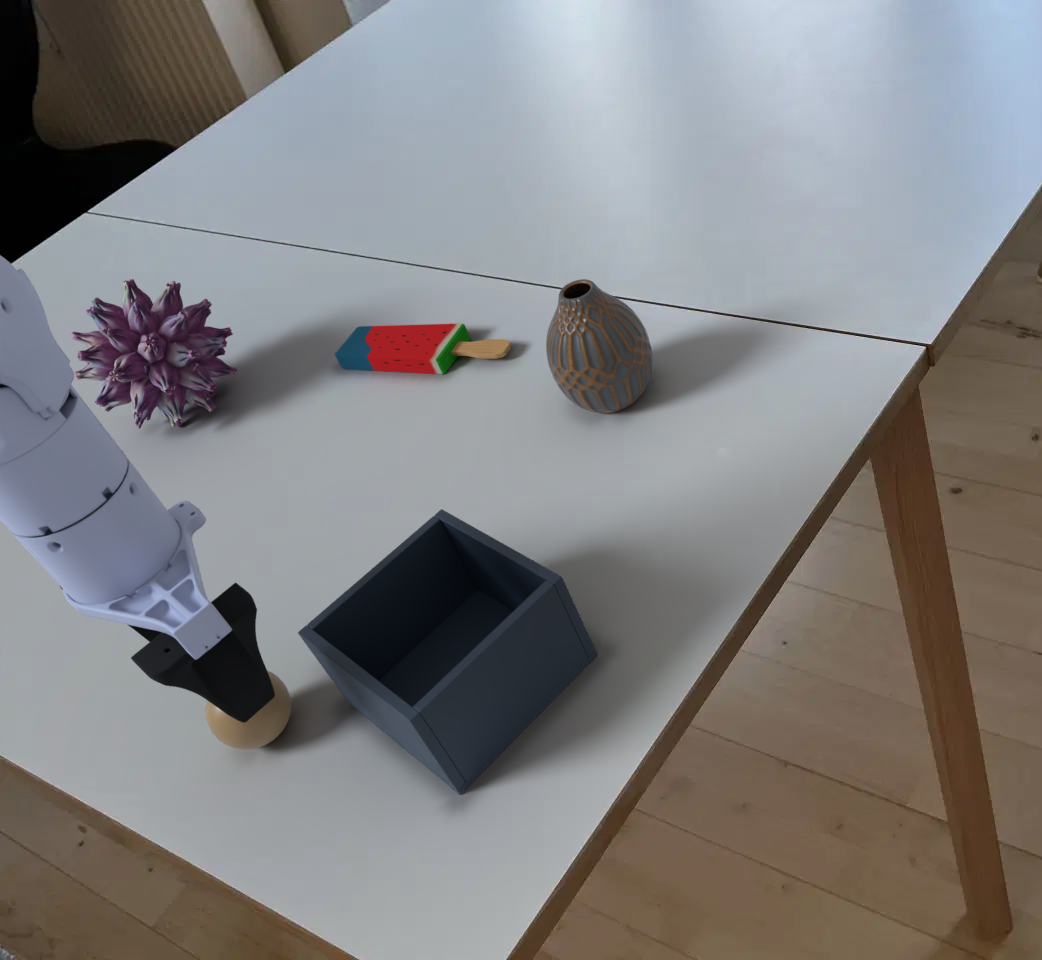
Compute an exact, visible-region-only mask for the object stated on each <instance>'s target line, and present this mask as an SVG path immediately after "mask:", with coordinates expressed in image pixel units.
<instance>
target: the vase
mask: <svg viewBox="0 0 1042 960" xmlns="http://www.w3.org/2000/svg"><path fill="white" fill-rule="evenodd" d="M545 341H546V343H545V348H546V349H545V350H546V358H547V365H548V367H549V370H550V373H551V375H552V377H553V380H554V381H555V383H556V385H557V387H558V388H559V390H560V391H561V393H562V394H563V395H564V396H565V397H566V398H567V399H568V400H569V401H570V402H572V403H573V404H574V405H575V406H577V407H579V408H581V409H583V410H586V411H589V412H592V413H597V414H612V413H617V412H620V411H622V410H625V409H626V408H628V407H630V406H632V405H633V404H634V403H635V402H637V400H638V399H639V398H640V397H641V395H642V394H643V393H644V392H645V391H646V389H647V387H648V384H649V382H650V380H651V377H652V372H653V361H654V359H653V350H652V349H653V348H652V344H651V342H650V338H649V335H648V332H647V329H646V327H645V326H644V324H643V322H642V320H641V318H640V317H639V316H638V314H636V312H635V311H634V310H633V308H631V307H630V306H629V305H628V304H627V303H625V302H624V301H623V300H621V299H620V298H617V297H615V296H613V295H611V294H610V293H607V292H606V291H604V290H602V289H601V288H600V287H599V286H598V285H597V284H596V283H595V282H594V281H592V280H590V279H585V278H584V279H583V278H582V279H575V280H572V281H570V282H568V283H566V284H565V285H564V286H563V287H562V288H561V289H560V291H559V293H558V300H557V306H556V309H555V311H554V313H553V316H552V318H551V320H550V322H549V326H548V329H547V333H546V340H545Z"/></svg>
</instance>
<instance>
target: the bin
mask: <svg viewBox="0 0 1042 960" xmlns="http://www.w3.org/2000/svg"><path fill="white" fill-rule="evenodd" d="M569 591H570V590H569V589H568V587H567V585H566V582H565V581H564V578H563V576H562V575H560V574H558V573H556V572H555V571H553V570H551V569H549V568H547V567H546V566H544V565H543V564H540V563H539V562H537V561H535V560H533V559H532V558H530V557H528V556H527V555H524V554H523V553H522V552H519V551H517V550H515V549H513V548H512V547H510V546H509V545H507V544H504V543H503V542H501V541H500V540H498V539H496V538H494V537H492V536H491V535H489V534H487V533H486V532H484V531H481V530H480V529H478V528H477V527H474V526H473V525H471V524H469V523H467V522H465V521H464V520H462V519H461V518H459V517H457V516H455V515H453V514H451V513H450V512H448V511H446V510H444V509H443V508H441V509H440V510H439V511H437V512H436V513H435V514H434V515H433V516H432V517H430V518H429V519H428V520H427V521H426V522H425V523H423V524H422V525H421V526H419V528H418V529H416V530H415V531H414V532H413V533H412V534H410V535H409V536H408V537H407V538H406V539H405V540H404V541H402V542H401V543H400V544H399V545H398V546H396V548H394V549H393V550H392V551H391V552H390V553H388V554H387V555H386V556H385V557H383V558H382V560H380V561H379V562H378V563H377V564H376V565H375V566H373V567H372V568H371V569H370V570H369V571H368V572H366V573H365V574H364V575H363V576H362V577H360V578H359V579H358V580H357V581H356V582H355V583H354V584H352V585H351V586H350V587H349V588H348V589H346V590H345V591H344V592H343V593H341V595H339V596H338V597H337V598H336V599H335V600H334V601H333V602H331V603H330V604H329V605H328V606H327V607H325V609H323V610H322V611H321V612H320V613H319V614H318V615H317V616H315V617H314V618H313V619H311V620H310V622H308V623H307V625H304V626H303V627H302V628H301V629H300V630H298V632H297V634H298V635H299V638H301V640H302V641H303V643H304V644H305V645H306V646H307V648H308V649H309V651H310V652H311V653H312V655H313V656H314V658H315V659H316V660H317V662H318V663H319V664H320V666H321V667H322V668H323V670H324V671H325V673H326V674H327V675H328V676H329V678H330V680H331V681H332V682H333V683H334V685H335V686H336V687H337V689H338V690H339V691H340V693H341V694H342V696H343V697H344V699H345V700H346V701H347V702H348V704H349V705H350V706H351V707H352V708H354V710H356V711H357V712H358V713H359V714H361V715H362V716H363V717H364V718H366V719H367V720H368V721H369V722H370V723H372V724H373V725H374V726H375V727H377V729H379V730H380V731H381V732H382V733H384V734H385V735H386V736H388V737H389V738H390V739H391V740H392V741H394V743H396V744H397V745H398V746H400V747H401V748H402V749H403V750H404V751H406V752H407V753H408V754H409V755H410V756H412V757H413V758H414V759H416V761H418V762H419V763H420V764H422V765H423V766H424V767H425V768H426V769H428V770H429V772H431V773H433V774H434V775H435V776H436V777H437V778H438V779H440V780H441V781H442V782H443V783H445V784H446V785H447V786H448V787H450V789H452V790H453V791H455V793H457V794H458V795H459V796H461V795H463V793H464V792H465V791H466V790H467V789H468V788H469V787H470V786H471V785H472V784H473V783H474V782H475V781H476V780H477V779H478V778H479V777H480V776H481V775H482V774H483V773H484V772H485V771H486V770H487V769H488V768H489V767H490V766H491V765H492V763H494V761H496V759H497V758H498V757H500V755H502V753H503V752H504V751H505V750H506V749H507V748H508V747H509V746H510V745H512V744H513V742H514V741H515V740H516V739H517V738H518V737H519V736H520V735H521V734H522V733H523V732H524V731H525V730H526V729H527V728H528V727H529V726H530V725H531V724H532V723H533V722H534V721H535V720H536V719H537V718H538V717H539V716H540V715H541V714H542V712H544V711H545V709H547V708H548V707H549V706H550V704H551V703H552V702H553V701H554V700H556V698H557V697H558V696H559V695H560V694H562V693H563V691H564V690H565V689H566V688H567V687H568V686H569V685H570V684H571V683H572V682H573V681H574V680H575V679H576V678H577V677H578V676H579V675H581V673H582V672H583V671H584V670H585V669H586V668H587V667H588V666H589V664H591V663H592V661H594V659H596V658H597V657H598V656H599V654H598V651H597V650H596V648H595V645H594V643H593V641H592V639H591V637H590V635H589V632H588V630H587V628H586V626H585V624H584V621H583V620H582V617H581V615H580V613H579V610H578V609H577V606H576V604H575V602H574V600H573V597H572V596H571V593H570V592H569Z"/></svg>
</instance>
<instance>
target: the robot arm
mask: <svg viewBox="0 0 1042 960" xmlns="http://www.w3.org/2000/svg"><path fill="white" fill-rule="evenodd" d="M70 362H71V360H70V358H69V357H68V356H67V355H66V353H65V352H64V351H63V349H62V348H61V347H60V344H58V342H57V340H56V339H55V337H54V334H53V333H52V330H51V329H50V325H49V322H48V319H47V315H46V311H45V308H44V306H43V304H42V301H41V299H40V296H39V294H38V292H37V290H36V288H35V286H34V284H33V283H32V281H31V279H30V278H29V277H28V275H27V273H26V272H25V270H24V269H23V268H18V269H17V268H16V267H15V266H14V265H13V264H12V263H11V262H10V261H9V260H7V259H6V258H5V257H3V256H2V255H0V522H1V523H2V524H3V525H4V526H5V527H6V528H7V529H8V530H9V532H11V534H12V535H13V537H15V538H16V540H17V541H19V543H20V544H21V545H22V546H23V547H24V548H25V549H26V551H28V552H29V554H31V555H32V557H33V558H34V559H35V560H36V561H37V562H38V563H39V564H40V566H41V567H42V568H43V569H44V570H45V571H46V572H47V573H48V574H49V575H50V577H52V579H53V580H54V581H55V583H57V584H58V585H59V588H60V589H61V590H62V592H63V595H64V598H65V599H66V601H67V602H68V603H69V604H70V605H71V606H72V607H73V609H74V610H75V611H77V612H78V613H79V614H81V615H82V616H86V617H89V618H94V619H99V620H104V621H108V622H114V623H118V624H121V625H127V626H128V627H130V628H131V629H132V630H134V631H135V632H137V633H138V635H140V636H142V637H143V638H144V639H145V640H146V641H148V643H147V644H145V645H144V646H143V647H142V648H140V650H138V651H137V652H136V653H134V654H133V655H131V657H130V659H131V661H132V662H133V663H134V664H135V665H136V666H137V667H138V668H139V669H140V670H141V671H142V672H143V673H144V674H145V675H146V676H147V677H148V678H149V679H151V680H152V681H154V682H156V683H158V684H161V685H163V686H166V687H174V688H180V689H183V690H187V691H189V692H191V693H194V694H196V695H198V696H200V697H202V698H203V699H205V700H206V701H207V700H208V701H209V702H210V703H212V704H213V705H215V706H216V707H217V708H219V709H220V710H222V711H223V712H224V713H226V714H227V715H229V716H231V717H232V718H234V719H236V720H238V721H240V722H242V723H245V722H247V721H248V720H249V719H250V718H251V717H253V716H254V715H255V714H256V713H257V712H258V711H259V710H261V709H262V708H263V707H264V706H265V705H266V704H267V703H268V702H270V701H271V700H272V699H273V698H274V697H275V692H274V688H273V685H272V682H271V679H270V677H269V674H268V672H267V670H268V669H267V666H266V665H265V662H264V659H263V657H262V654H261V651H260V648H259V644H258V640H257V630H256V628H257V626H256V624H257V612H258V609H257V605H256V603H255V602H256V601H255V600H254V597H253V596H252V594H251V593H250V592H248V590H247V589H245V588H244V587H243V586H241V585H240V584H238V583H237V582H233V584H231V585H230V586H229V587H228V588H227V589H225V590H224V591H223V592H222V593H221V594H219V595H218V596H217V597H216V598H214V599H213V600H212V601H210V600H209V598H208V595H207V593H206V589H205V586H204V581H203V577H202V573H201V570H200V566H199V561H198V557H197V553H196V549H195V545H194V541H193V536H194V534H195V533H197V531H198V530H200V529H201V528H202V527H203V526H204V525H205V524H206V522H207V518H206V516H205V515H204V513H203V512H202V510H201V509H200V508H199V507H197V506H196V505H195V504H194V503H192V502H191V501H188V500H182V501H179V502H177V503H175V504H174V505H173V506H172V507H170V508H167V507H166V506H165V505H164V503H163V502H162V501H161V499H159V497H158V495H157V494H156V493H155V492H154V491H153V489H152V488H151V487H150V485H149V484H148V483H147V481H146V480H145V478H143V476H142V475H141V474H140V472H139V471H138V469H137V468H136V467H135V465H134V464H133V463H132V462H131V460H130V459H129V457H128V456H127V455H126V454H125V452H124V451H123V450H122V448H121V447H120V446H119V445H118V443H117V442H116V440H115V439H114V438H113V437H112V436H111V434H110V432H108V430H107V429H106V428H105V427H104V425H103V424H102V423H101V421H100V420H99V419H98V417H97V416H96V415H95V413H94V412H93V411H92V409H91V408H90V407H89V406H88V404H87V403H86V402H85V400H84V399H83V398H82V397H81V395H80V394H79V392H77V390H76V389H75V387H74V386H73V385H72V383H73V381H74V379H75V374H74V372H75V371H74V370H73V368H72V367H71V365H70Z"/></svg>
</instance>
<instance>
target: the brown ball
mask: <svg viewBox="0 0 1042 960" xmlns="http://www.w3.org/2000/svg"><path fill="white" fill-rule="evenodd" d="M267 672H268V674H269V677H270V679H271V682H272V685H273V688H274V692H275V697H274V698H273V699H272V700H271V701H270V702H268V703H267V704H266V705H265V706H264V707H263V708H262V709H261V710H259V711H258V712H257V713H256V714H255V715H254V716H253V717H251V718H250V719H249V720H248V721H247V722H245V723H242V722H240V721H238V720H236V719H234V718H232V717H231V716H229V715H227V714H226V713H224V712H223V711H222V710H220V709H219V708H217V707H216V706H215V705H213V704H212V703H210V702H209V701H208V700H206V704H205V719H206V722H207V726H208V728H209V730H210V732H211V733H212V734H213V735H214V737H215V738H216V739H217V740H218V741H220V742H221V743H222V744H224V745H226V746H228V747H230V748H234V749H237V750H255V749H258V748H261V747H264V746H266V745H268V744H269V743H271V742H273V741H274V740H276V738H278V737H279V736H280V735H281V733H282V732H283V731H284V730H285V728H286V726H287V724H288V722H289V719H290V717H291V713H292V712H291V711H292V700H291V699H292V698H291V695H290V692H289V689H288V687H287V686H286V684H285V682H284V681H283V680H282V679H281V678H280V677H279V676H278V675H277V674H275V673H273V672H272V671H270V670H268V669H267Z"/></svg>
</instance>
